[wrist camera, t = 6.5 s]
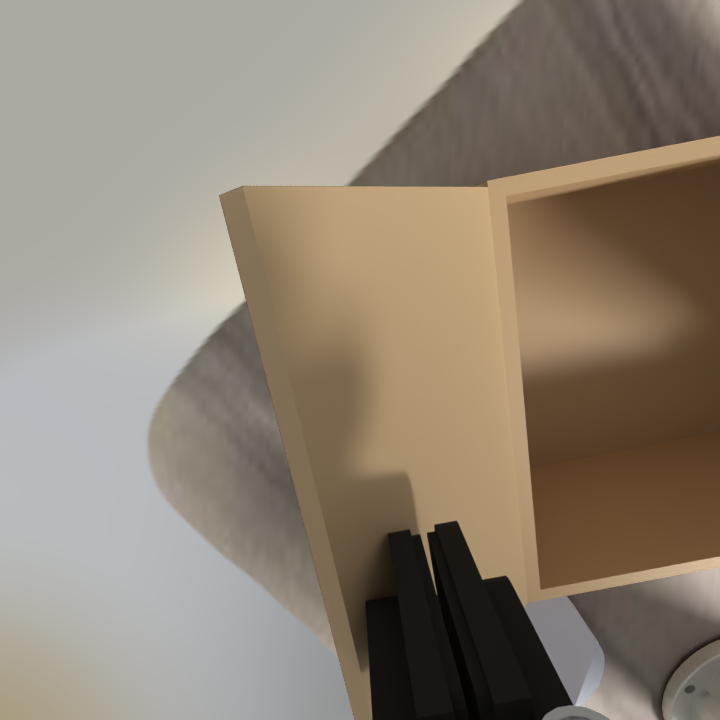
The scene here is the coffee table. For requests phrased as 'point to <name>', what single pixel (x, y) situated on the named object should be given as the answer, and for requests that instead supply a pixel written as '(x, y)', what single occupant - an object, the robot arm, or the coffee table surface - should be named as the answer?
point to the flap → (382, 381)
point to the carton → (613, 364)
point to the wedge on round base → (568, 646)
